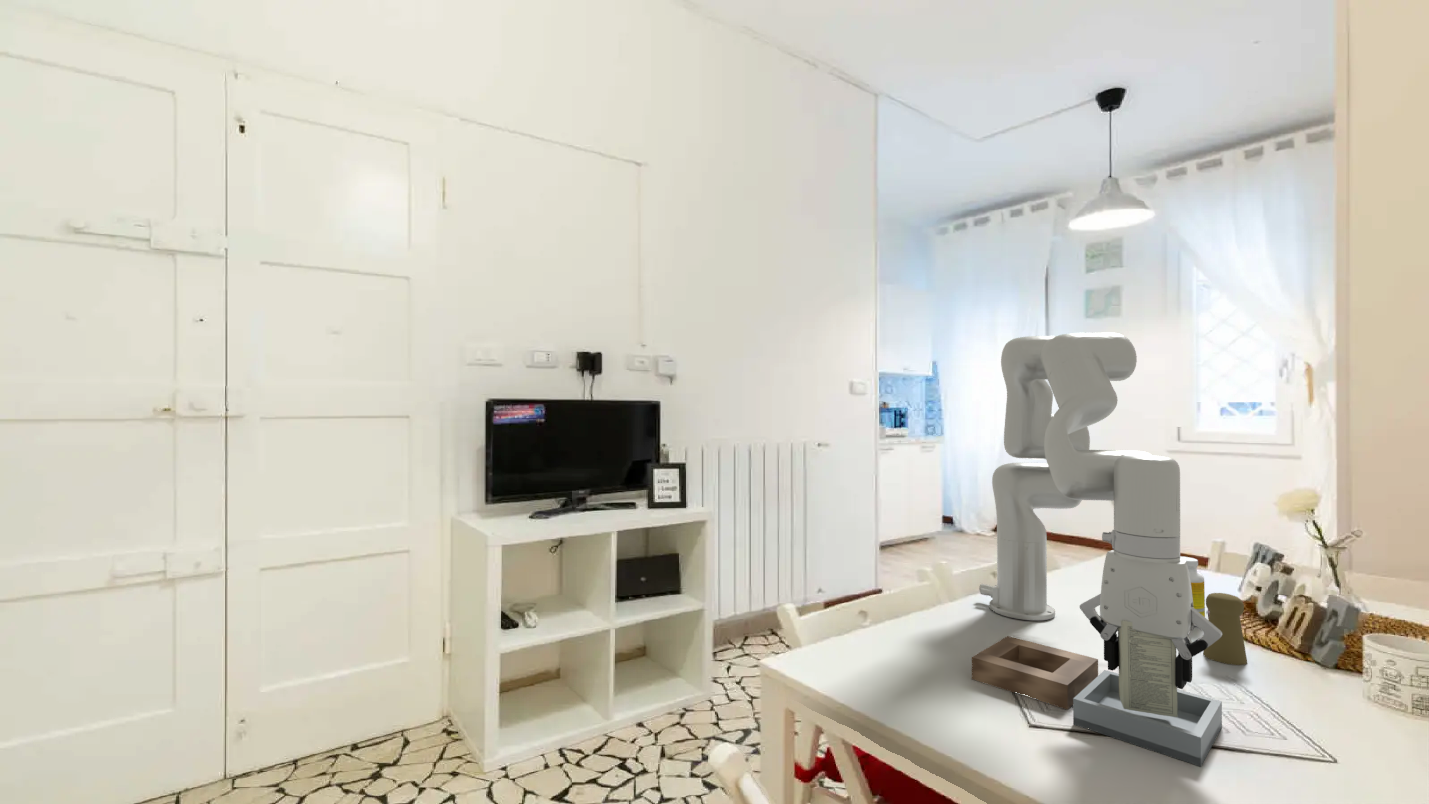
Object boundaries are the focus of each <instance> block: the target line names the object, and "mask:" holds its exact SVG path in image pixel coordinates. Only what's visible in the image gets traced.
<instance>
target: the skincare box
mask: <svg viewBox="0 0 1429 804" xmlns="http://www.w3.org/2000/svg"><path fill="white" fill-rule="evenodd" d="M1117 637H1118V657H1119V666H1118V674H1119V697H1120V700H1121V703H1122V705H1123V708H1124V709H1127V710H1134V711H1139V712H1146V713H1152V714H1158V715H1164V716H1172V717H1177V716H1178V715H1177V689H1178V688H1177V687H1176V686H1175V659H1176V657H1177V648H1176V647H1175V645H1174V643H1173V641H1172V640H1171V639H1169V638H1164V637H1159V636H1155V635H1150V634H1146V633H1141V632H1139V631H1136V630H1134V629H1133V627H1132V622H1128V621H1125V620H1121V628H1119V627H1118V631H1117Z"/></svg>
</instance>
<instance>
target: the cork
mask: <svg viewBox="0 0 1429 804" xmlns="http://www.w3.org/2000/svg"><path fill="white" fill-rule="evenodd" d="M1205 606H1206V609H1207V610H1208V611H1209V615H1208V620H1209V621H1210V622H1211V623H1212V624H1213V625H1214V626H1216V627H1217V628H1218V629H1219V630H1220V631H1221V632H1222V636H1221V637H1220V639H1218V640H1217V641H1216V642H1214V643H1213V644H1212V645H1210V646H1209V647H1208V648H1206V649H1205V650H1204V651H1202V655H1203V656H1204V657H1205V658H1206V659H1208V660H1212V661H1214V662H1218V663H1221V664H1226V665H1232V666H1245V665H1247V664H1248V658H1247V653H1246V646H1245V640H1244V633H1243V628H1242V623H1241V616H1242V615H1243V613H1244V610H1245V606H1244V602H1243V600H1242V599H1241V598H1240V597H1238V596H1236V595H1234V594H1231V593H1230V594H1229V593H1225V592H1213V593H1211V592H1210V593H1209V594H1207V596H1206V597H1205Z"/></svg>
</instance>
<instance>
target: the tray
mask: <svg viewBox="0 0 1429 804" xmlns="http://www.w3.org/2000/svg"><path fill="white" fill-rule="evenodd" d="M1072 710H1073V711H1072V713H1073V716H1072V717H1073V718H1072V719H1073V721H1072V722H1073V725H1074V726H1077V727H1080V728H1083V729H1086V728H1089V729H1091V730H1090V731H1091V732H1092V731H1093V732H1095V733H1098V734H1102V735H1104V736H1107V737H1110V738H1114V739H1116V740H1119V741H1123V742H1124V743H1127V744H1128V743H1129V744H1131V745H1134V746H1137V747H1140V748H1143V749H1147V750H1150V751H1152V752H1156V753H1158V754H1160V755H1161V754H1162V755H1164V756H1167V757H1170V758H1172V759H1173V758H1174V759H1177V760H1179V761H1183V762H1186V763H1188V764H1190V765H1191V764H1192V765H1194V766H1197V767H1202V766H1203V764H1204V762H1205V760H1206V758H1207V756H1208V754H1209V752H1210V751H1211V749H1212V747H1213V745H1214V743H1215V741H1216V739H1217V738H1216V737H1218V736H1219V734H1220V732H1221V730H1222V728H1223V701H1222V700H1219V699H1216V698H1211V697H1208V696H1204V695H1199V694H1195V693H1193V692H1192V693H1191V692H1189V691H1184V690H1183V689H1179V688H1177V715H1178V716H1177V717H1172V716H1164V715H1158V714H1152V713H1146V712H1139V711H1134V710H1127V709H1124V708H1123V705H1122V703H1121V700H1120V697H1119V672H1118V673H1117V672H1114V671H1111V670H1106V669H1104V670H1103V671H1102V672H1100V674H1098V677H1096V678H1095V679H1094V680H1093V681H1092V682H1091V683H1090V684H1089V685H1088V686H1087V687H1085V688H1084V689H1083V690H1082V691H1081V692H1080V693H1079V694H1078V695H1077V696H1076V697H1074V698H1073V705H1072ZM1089 729H1088V730H1089Z"/></svg>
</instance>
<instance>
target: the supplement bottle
mask: <svg viewBox="0 0 1429 804" xmlns="http://www.w3.org/2000/svg"><path fill="white" fill-rule="evenodd" d="M1180 558H1181V559H1184V560H1186V563H1187V566H1188V571H1189V576H1190V581H1191V588H1192V597H1193V608H1194V609H1196V610H1197V611H1198V612H1199V613H1200V614H1201V615H1203V616H1204V617H1205V618H1206V609H1205V608H1206V607H1205V606H1206V597H1205V577H1204V576H1203V574H1202V573H1200V572H1199V571H1197V570H1198V566H1199V559H1197V558H1194V557H1190V556H1189V557H1188V556H1182V555H1180ZM1193 627H1197V626H1196V625H1195V624H1194V626H1193Z"/></svg>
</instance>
